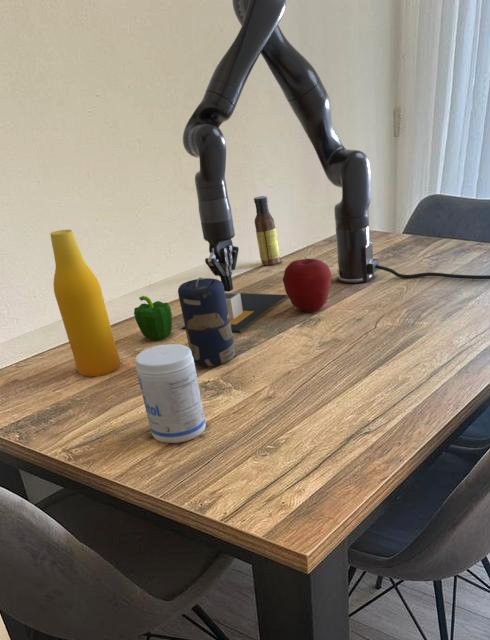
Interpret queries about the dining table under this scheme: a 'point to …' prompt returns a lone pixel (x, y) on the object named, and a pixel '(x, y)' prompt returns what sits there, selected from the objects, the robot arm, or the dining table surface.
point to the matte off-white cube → (234, 304)
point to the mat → (253, 308)
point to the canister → (207, 321)
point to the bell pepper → (154, 319)
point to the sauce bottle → (266, 233)
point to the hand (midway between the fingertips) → (228, 290)
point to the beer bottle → (82, 309)
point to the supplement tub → (171, 393)
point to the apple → (307, 284)
